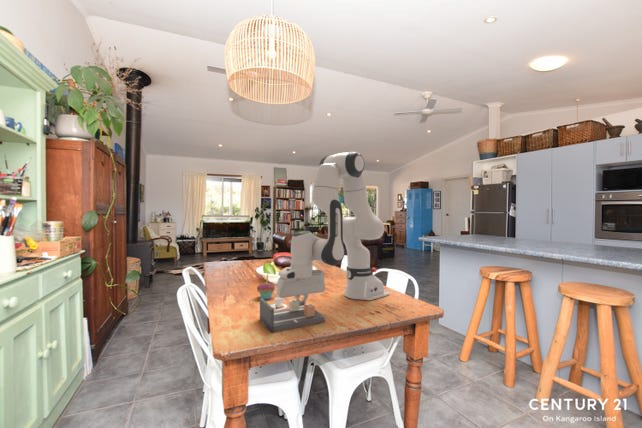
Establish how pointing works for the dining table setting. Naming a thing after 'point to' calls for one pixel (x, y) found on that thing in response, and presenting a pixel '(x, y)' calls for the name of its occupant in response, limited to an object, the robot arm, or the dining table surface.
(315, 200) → the robot arm
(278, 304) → the teacup and saucer
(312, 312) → the terracotta fader knob
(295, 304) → the cream fader knob
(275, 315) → the console
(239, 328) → the dining table surface
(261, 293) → the cupcake
